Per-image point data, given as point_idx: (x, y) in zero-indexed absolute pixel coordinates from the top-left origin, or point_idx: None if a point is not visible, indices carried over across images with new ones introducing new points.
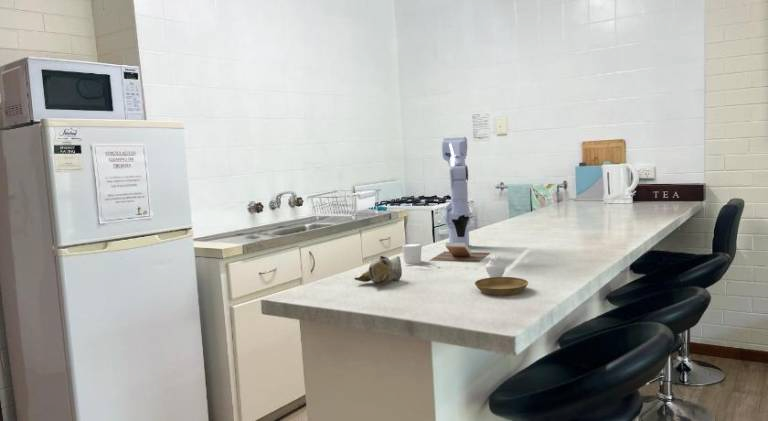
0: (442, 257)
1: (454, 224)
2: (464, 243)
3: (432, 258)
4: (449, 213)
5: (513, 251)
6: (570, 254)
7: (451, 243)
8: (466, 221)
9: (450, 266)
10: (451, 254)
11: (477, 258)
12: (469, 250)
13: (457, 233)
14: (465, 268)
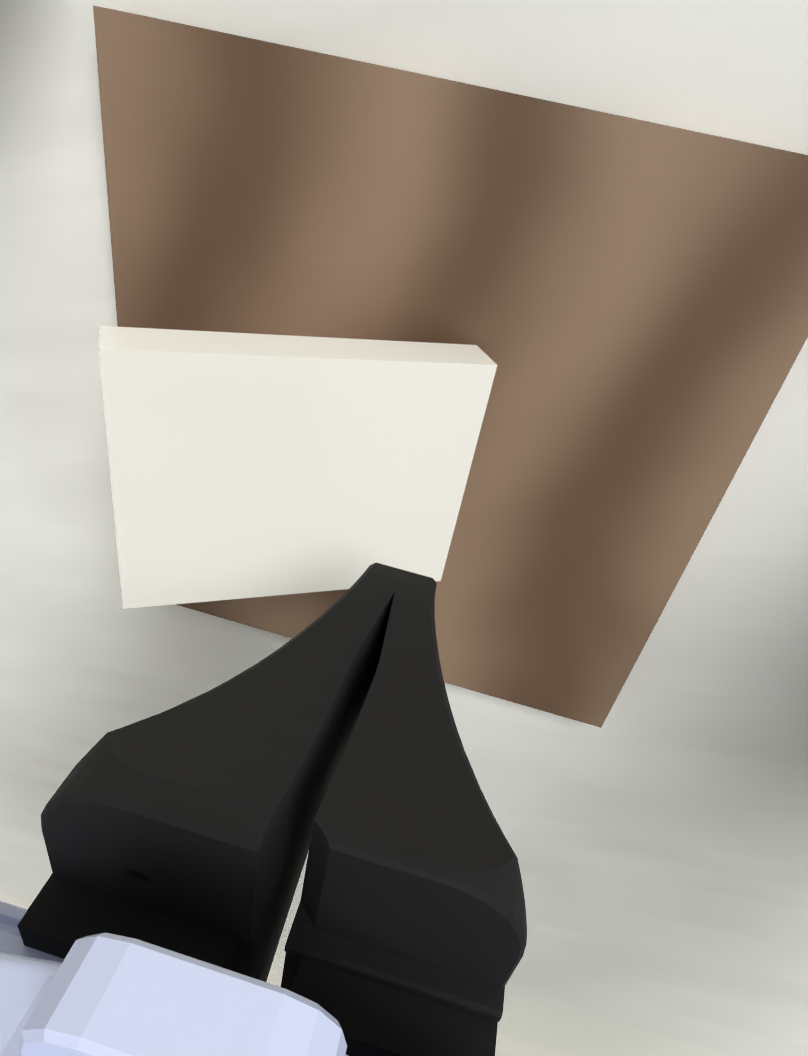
0: (335, 208)
1: (214, 694)
2: (123, 597)
3: (248, 42)
4: (72, 947)
5: (763, 867)
6: (545, 1034)
7: (106, 434)
8: (279, 935)
9: (34, 337)
10: (556, 325)
11: (300, 597)
12: (351, 580)
13: (344, 598)
14: (2, 474)
